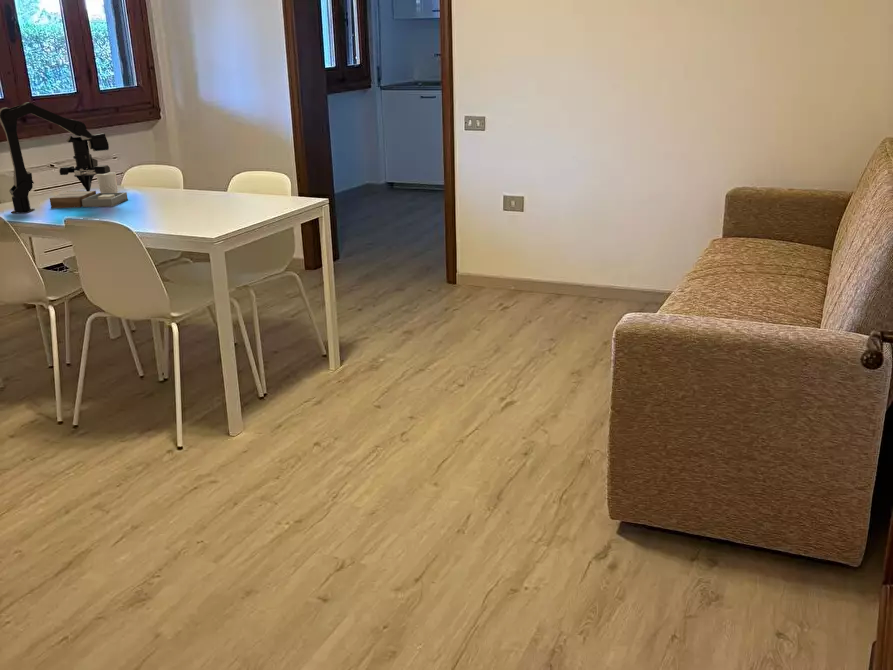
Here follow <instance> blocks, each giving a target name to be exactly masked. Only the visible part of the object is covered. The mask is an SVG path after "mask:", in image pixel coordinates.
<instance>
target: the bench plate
mask: <svg viewBox="0 0 893 670" xmlns="http://www.w3.org/2000/svg"><path fill="white" fill-rule="evenodd" d="M95 194H97V191H96V190H90V191H86V190H69V191H65V192H62V193H59V194H56V195H54V196H52V197H49V203H50V209H65V208H83V205H82V200H83V199H85V198H87V197H90V196H92V195H95Z"/></svg>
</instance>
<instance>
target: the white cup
mask: <svg viewBox="0 0 893 670" xmlns="http://www.w3.org/2000/svg"><path fill="white" fill-rule="evenodd" d="M95 176H96V180H97V184H98V189H99V193H119V191H118V182H117V181H118V180H117V172H115V171H110V172H108V173H106V174H97V175H95Z"/></svg>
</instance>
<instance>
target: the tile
mask: <svg viewBox="0 0 893 670" xmlns="http://www.w3.org/2000/svg"><path fill="white" fill-rule="evenodd" d="M113 197H115V194H109V195H101V196H98V199H111V198H113Z"/></svg>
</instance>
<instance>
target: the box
mask: <svg viewBox="0 0 893 670" xmlns="http://www.w3.org/2000/svg"><path fill="white" fill-rule="evenodd" d="M109 194H115V197H113V198H111V199H98V196H101V195H109ZM127 200H128V193H127V191H124V192H123V191H122V192H119V191H118V193H101V192H98V193H97V192H96V194H95V195H92V196H90V197H87V198H85V199H83V200H82V205H83V206H82V208H106V207H107V208H108V207H109V208H111V207H114V206H117V205H119V204H121V203H123V202H125V201H127Z"/></svg>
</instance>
